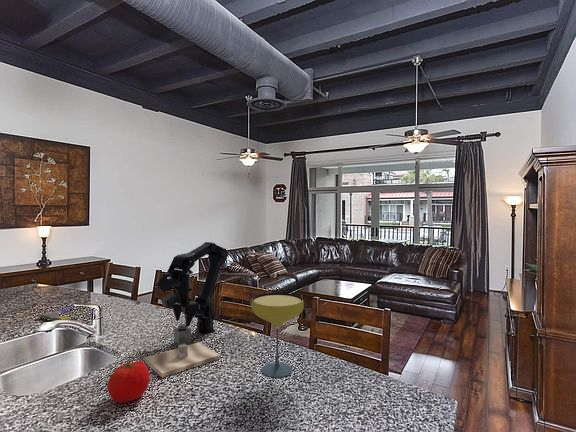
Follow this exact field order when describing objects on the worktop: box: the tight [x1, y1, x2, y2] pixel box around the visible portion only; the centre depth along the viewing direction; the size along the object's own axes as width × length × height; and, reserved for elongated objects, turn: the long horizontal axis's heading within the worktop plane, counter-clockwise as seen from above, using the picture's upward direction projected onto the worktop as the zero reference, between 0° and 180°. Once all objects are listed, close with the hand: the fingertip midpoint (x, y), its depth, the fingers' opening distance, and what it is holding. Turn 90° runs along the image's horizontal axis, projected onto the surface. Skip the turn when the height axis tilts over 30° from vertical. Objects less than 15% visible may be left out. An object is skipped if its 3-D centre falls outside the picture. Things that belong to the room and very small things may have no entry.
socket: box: [173, 324, 192, 346], centre depth 144 cm, size 5×5×7 cm
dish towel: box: [37, 303, 104, 320], centre depth 181 cm, size 18×24×3 cm
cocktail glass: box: [250, 292, 305, 379], centre depth 121 cm, size 18×18×25 cm
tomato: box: [106, 360, 151, 404], centre depth 103 cm, size 11×13×10 cm
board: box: [144, 342, 221, 379], centre depth 129 cm, size 22×16×6 cm
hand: (182, 323), depth 144 cm, fingers open, 9 cm apart
